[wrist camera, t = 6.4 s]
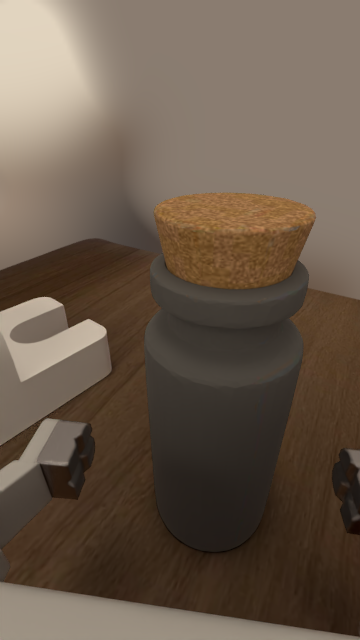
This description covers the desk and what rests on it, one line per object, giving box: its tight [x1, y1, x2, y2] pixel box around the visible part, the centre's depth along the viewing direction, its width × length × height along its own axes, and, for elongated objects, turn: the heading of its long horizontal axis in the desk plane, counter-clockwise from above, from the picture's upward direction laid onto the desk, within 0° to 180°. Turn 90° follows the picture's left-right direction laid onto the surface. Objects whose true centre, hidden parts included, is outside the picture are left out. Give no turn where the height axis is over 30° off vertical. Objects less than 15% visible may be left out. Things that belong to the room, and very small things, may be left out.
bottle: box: [144, 193, 316, 552], centre depth 13 cm, size 6×6×15 cm
